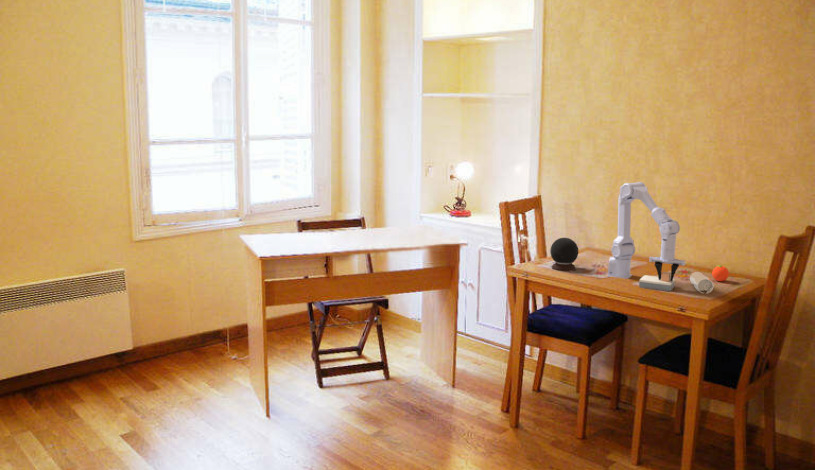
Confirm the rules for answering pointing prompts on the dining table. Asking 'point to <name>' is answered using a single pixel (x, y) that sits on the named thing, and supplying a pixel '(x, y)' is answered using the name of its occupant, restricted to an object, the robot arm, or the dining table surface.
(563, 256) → the black ball on stand
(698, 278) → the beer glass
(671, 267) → the robot arm
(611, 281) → the dining table surface
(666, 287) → the tub
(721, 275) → the clementine
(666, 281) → the lid
